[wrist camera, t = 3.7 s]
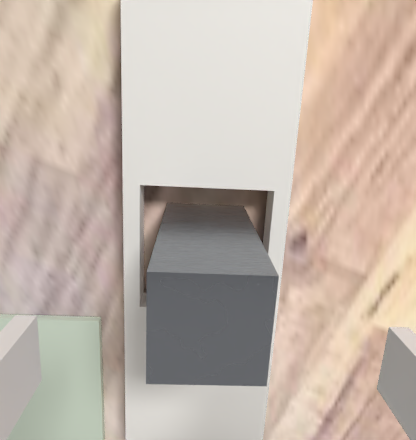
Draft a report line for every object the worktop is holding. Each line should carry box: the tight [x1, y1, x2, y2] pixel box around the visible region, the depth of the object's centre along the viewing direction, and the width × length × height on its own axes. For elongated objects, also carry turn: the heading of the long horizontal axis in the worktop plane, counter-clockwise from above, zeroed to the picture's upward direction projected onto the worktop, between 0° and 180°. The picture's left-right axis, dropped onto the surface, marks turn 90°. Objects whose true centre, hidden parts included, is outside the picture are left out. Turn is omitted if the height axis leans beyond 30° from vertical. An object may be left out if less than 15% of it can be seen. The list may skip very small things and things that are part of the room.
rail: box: [121, 0, 313, 440], centre depth 25 cm, size 10×30×2 cm, turn 177°
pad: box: [0, 314, 105, 440], centre depth 28 cm, size 14×14×1 cm
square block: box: [146, 203, 279, 386], centre depth 20 cm, size 5×5×11 cm
